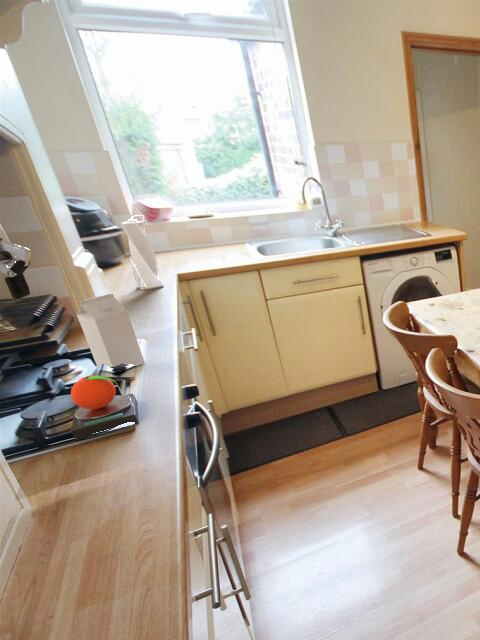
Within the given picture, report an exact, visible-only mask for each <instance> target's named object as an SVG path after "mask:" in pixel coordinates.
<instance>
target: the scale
mask: <svg viewBox="0 0 480 640" xmlns="http://www.w3.org/2000/svg"><path fill="white" fill-rule="evenodd" d="M124 396H128V397H130V398H131V401H132V404H131V406H130V407H129V408H128V409H127V410H125V411H123V412H122V413H120V414H116V415H112V416H109V417H105V418H101V419H97V420H93V421H89V422H83V421H79V420H77V419H76V417H75V413H74V412H73V417H72V423H71V429H70V432H71V434H72V437H73V439H74V438H80V437H85V436H88V435H91V434H93V433H96V432H100V431H104V430H107V429H110V428H113V427H116V426H118V425H121V424H124V423H127V422H135V424H137V425H139V424H140V422H139V421H140V420H139V408H138V409H137V406H138V400H137V397H136V394H135V392H133V393H132V392H131V393H128V394H125V395H124ZM78 407H79V406H78ZM79 408H80V407H79Z"/></svg>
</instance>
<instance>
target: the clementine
mask: <svg viewBox="0 0 480 640" xmlns="http://www.w3.org/2000/svg"><path fill="white" fill-rule="evenodd" d="M115 384H116V385H117V386H119V383H117V381H116V380H114V379H113V378H110V377H107V376H104V375H97V374H96V375H88V376H84V377H81V378H79V379H78V380H77V381H76V382H75V383H74V384H72V385H73V386H72V387H71V389H70V399H71V400H72V402H73V403H74V404H75V405H77V407H82V408H85V409H99V408H102V407H104V406H106V405H108V404H109V403H110V402H111V401H112V400H113V399H114V397H115V396H116V393H117V391H116V390H117V389H116V386H115Z"/></svg>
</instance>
